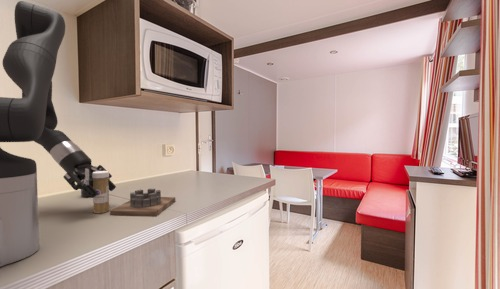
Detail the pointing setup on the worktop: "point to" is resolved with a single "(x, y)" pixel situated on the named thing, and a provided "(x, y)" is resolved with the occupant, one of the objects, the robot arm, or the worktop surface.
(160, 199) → the collar base
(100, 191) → the sprinkles bottle
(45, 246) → the worktop surface
